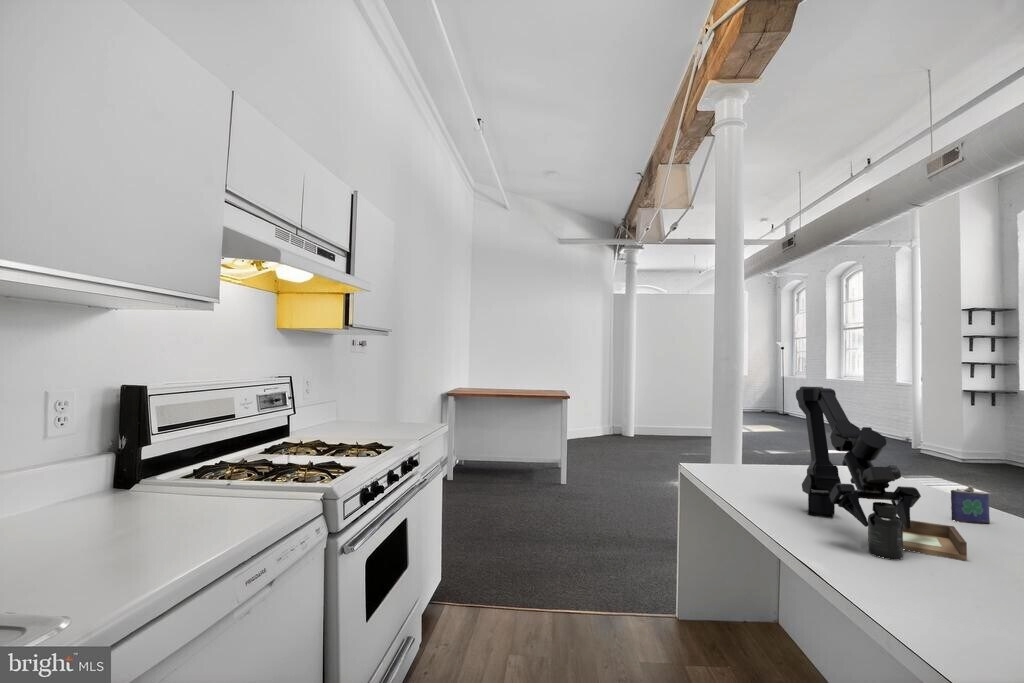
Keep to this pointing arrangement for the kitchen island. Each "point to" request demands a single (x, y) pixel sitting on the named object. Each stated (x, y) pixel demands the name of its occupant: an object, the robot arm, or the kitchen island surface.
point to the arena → (934, 540)
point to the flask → (970, 506)
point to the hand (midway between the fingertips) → (887, 527)
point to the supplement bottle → (885, 531)
